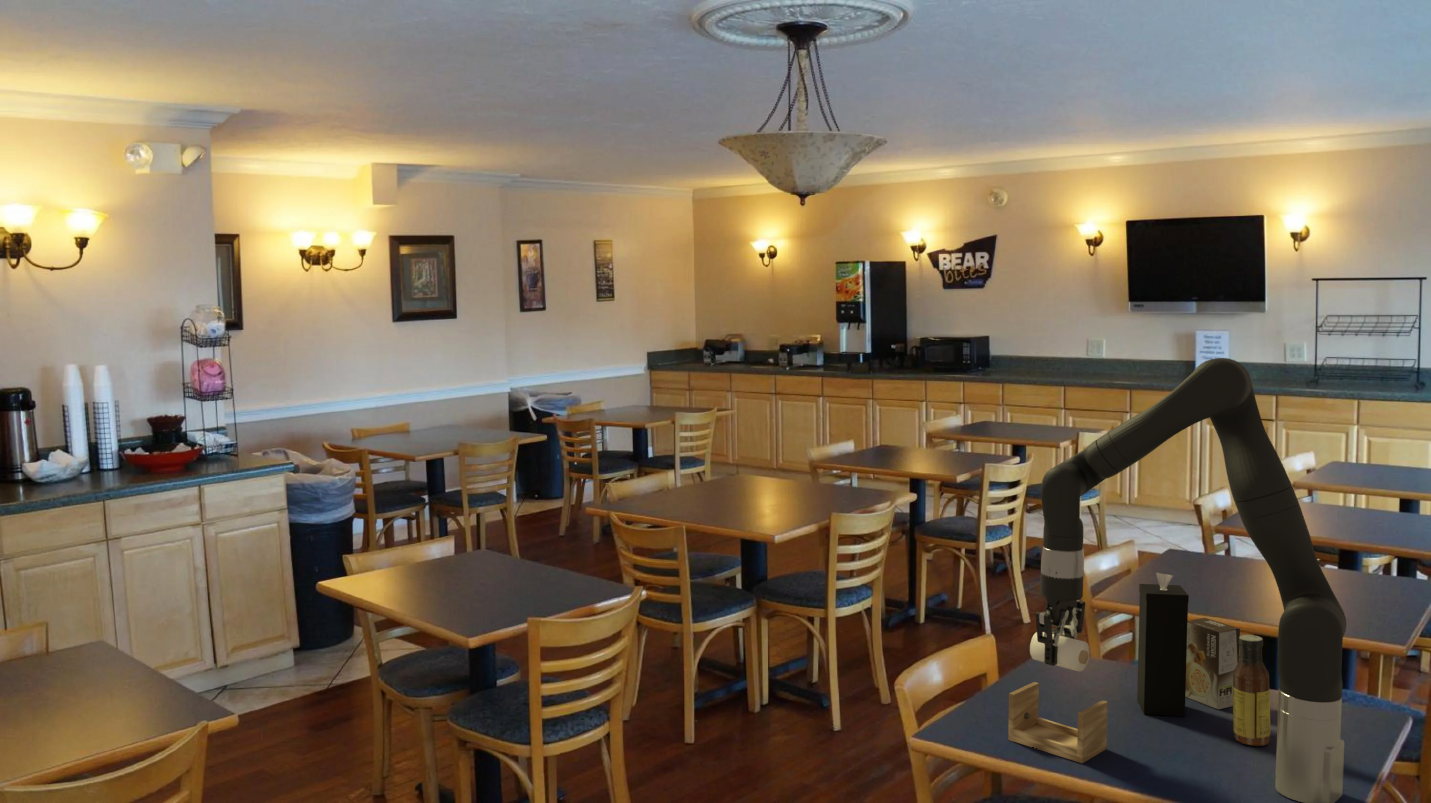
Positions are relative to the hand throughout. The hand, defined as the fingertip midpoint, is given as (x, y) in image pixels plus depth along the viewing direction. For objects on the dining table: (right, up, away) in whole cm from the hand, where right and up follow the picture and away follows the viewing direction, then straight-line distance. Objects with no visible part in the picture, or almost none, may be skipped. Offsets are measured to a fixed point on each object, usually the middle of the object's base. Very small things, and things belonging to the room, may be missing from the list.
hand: (1059, 660), depth 203 cm
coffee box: (+38, -14, +23) cm, 47 cm away
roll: (0, -1, 0) cm, 1 cm away
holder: (0, -16, +1) cm, 16 cm away
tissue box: (+26, -14, +18) cm, 35 cm away
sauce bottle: (+36, -16, +2) cm, 40 cm away
